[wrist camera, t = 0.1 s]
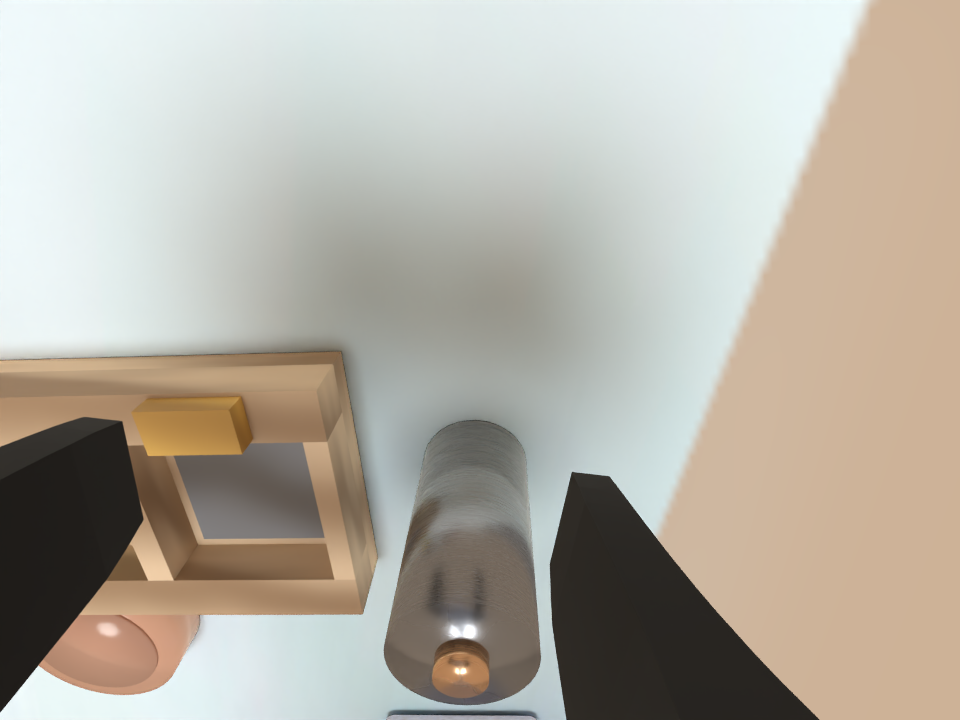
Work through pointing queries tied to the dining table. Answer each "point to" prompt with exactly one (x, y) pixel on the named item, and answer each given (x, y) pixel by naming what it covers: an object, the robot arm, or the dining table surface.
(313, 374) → the board
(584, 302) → the dining table surface
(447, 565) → the cell
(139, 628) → the dish
